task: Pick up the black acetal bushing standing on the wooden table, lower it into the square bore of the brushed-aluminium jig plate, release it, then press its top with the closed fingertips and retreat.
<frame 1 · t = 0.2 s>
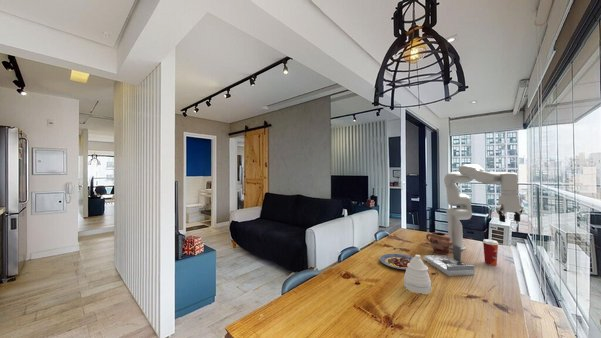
hand: (509, 221, 137), 31 cm above the table, fingers open, 9 cm apart
honey pot: (417, 288, 121), on the table
jig: (447, 266, 146), on the table
coffee cup: (490, 263, 151), on the table
bushing: (456, 260, 156), on the table
decorative planter: (438, 251, 173), on the table
ceramic plate: (400, 264, 152), on the table
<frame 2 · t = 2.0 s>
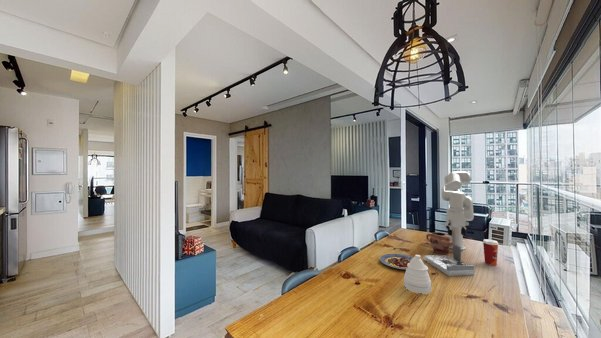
hand: (456, 235, 156), 17 cm above the table, fingers open, 9 cm apart
nothing on the table moved.
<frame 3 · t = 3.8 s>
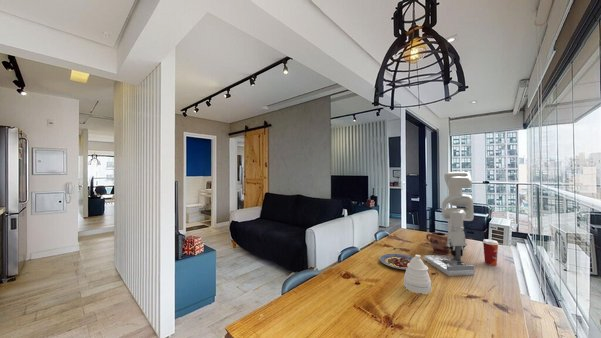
hand: (456, 255, 156), 3 cm above the table, fingers closed on bushing, 4 cm apart
bushing: (456, 260, 156), on the table, touching gripper
everything else where it was.
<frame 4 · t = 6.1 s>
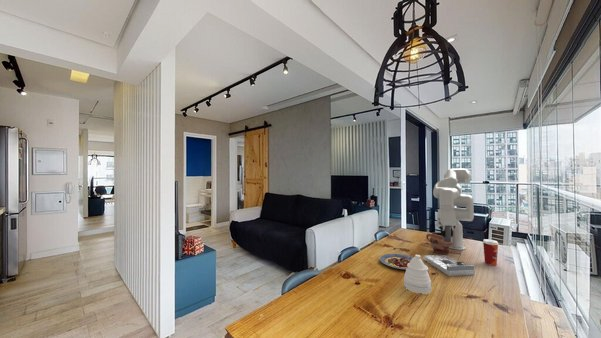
hand: (446, 235, 147), 20 cm above the table, fingers closed on bushing, 4 cm apart
bushing: (447, 241, 147), point 16 cm above the table, touching gripper
everything else where it was.
when the fingers open (4 cm above the table, at t = 8.7 s): bushing stays where it is, resting in jig.
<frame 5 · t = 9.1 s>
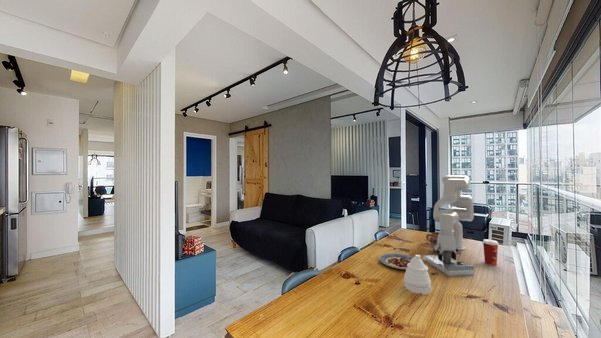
hand: (446, 259, 146), 5 cm above the table, fingers open, 8 cm apart
bushing: (447, 266, 146), resting in jig
everything else where it was.
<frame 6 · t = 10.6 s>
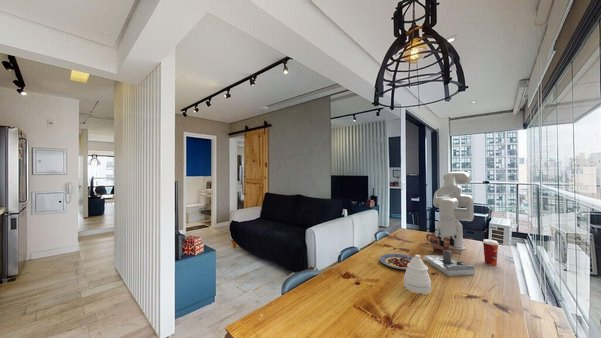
hand: (446, 245, 146), 14 cm above the table, fingers open, 6 cm apart
nothing on the table moved.
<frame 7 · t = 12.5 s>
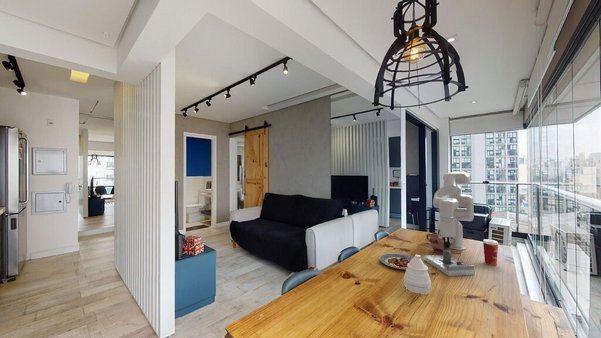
hand: (446, 247, 147), 12 cm above the table, fingers closed
nothing on the table moved.
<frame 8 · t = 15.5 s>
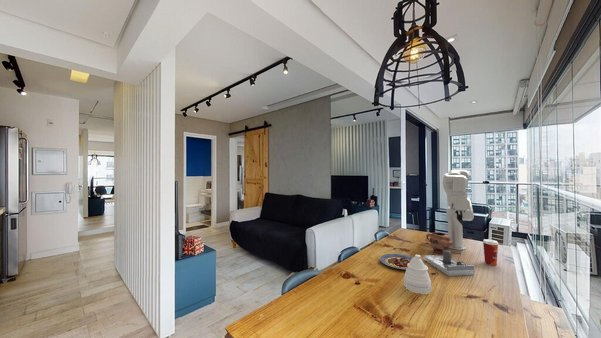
hand: (459, 220, 159), 27 cm above the table, fingers closed
nothing on the table moved.
at the end: bushing 0.1 cm off-centre on the jig, point 0.0 cm above the jig's base; bushing tilted 0°; the gripper is holding nothing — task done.
